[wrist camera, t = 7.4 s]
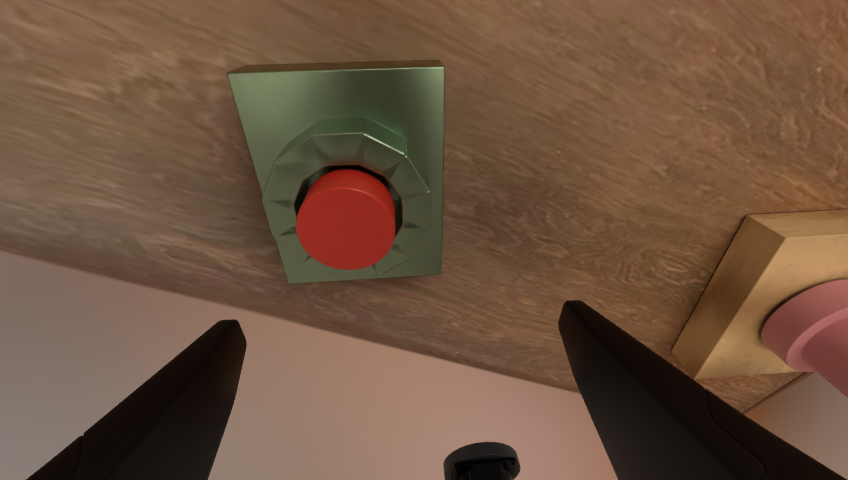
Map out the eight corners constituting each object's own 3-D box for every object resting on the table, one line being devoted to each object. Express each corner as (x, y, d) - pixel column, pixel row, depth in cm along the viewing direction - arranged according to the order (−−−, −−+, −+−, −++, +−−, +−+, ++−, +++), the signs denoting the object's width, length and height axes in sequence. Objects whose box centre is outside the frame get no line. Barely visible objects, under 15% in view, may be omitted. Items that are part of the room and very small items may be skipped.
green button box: (437, 253, 20) (446, 301, 17) (296, 261, 20) (277, 312, 17) (439, 59, 15) (453, 75, 12) (244, 65, 15) (200, 82, 11)
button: (397, 243, 16) (398, 268, 14) (314, 248, 15) (306, 273, 14) (392, 165, 14) (392, 185, 12) (296, 169, 13) (285, 189, 12)
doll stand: (793, 342, 28) (825, 369, 26) (670, 351, 27) (693, 379, 25) (905, 205, 21) (961, 227, 19) (746, 214, 21) (786, 237, 19)
